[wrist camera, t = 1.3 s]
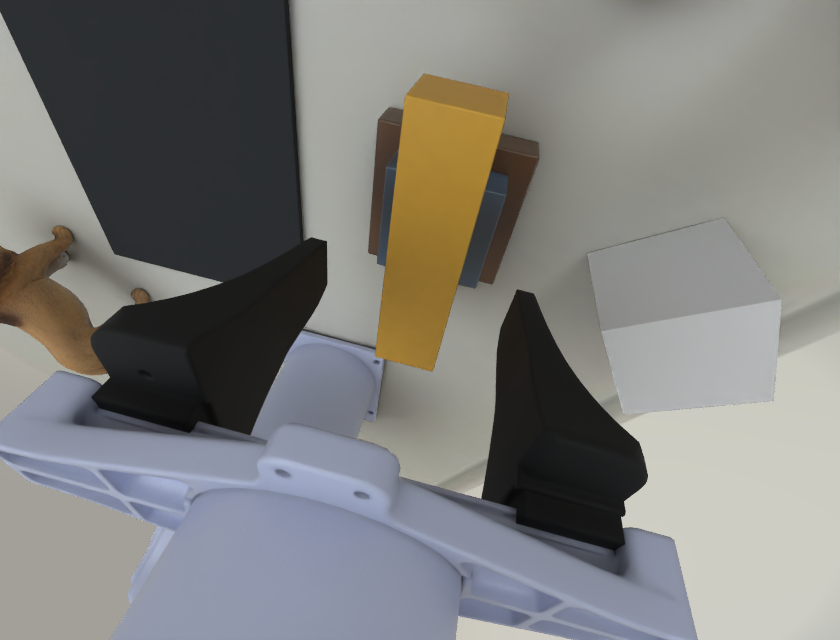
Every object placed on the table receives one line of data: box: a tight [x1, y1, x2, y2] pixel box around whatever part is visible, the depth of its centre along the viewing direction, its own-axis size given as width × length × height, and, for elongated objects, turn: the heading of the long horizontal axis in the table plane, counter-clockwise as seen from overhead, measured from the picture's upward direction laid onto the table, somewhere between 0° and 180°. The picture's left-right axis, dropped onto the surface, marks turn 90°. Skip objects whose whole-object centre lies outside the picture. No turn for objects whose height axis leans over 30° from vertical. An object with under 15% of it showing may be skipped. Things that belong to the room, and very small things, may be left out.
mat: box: [0, 0, 303, 282], centre depth 22 cm, size 18×14×1 cm
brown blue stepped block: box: [368, 108, 539, 288], centre depth 19 cm, size 7×7×4 cm
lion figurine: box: [0, 226, 149, 375], centre depth 27 cm, size 15×5×9 cm, turn 42°
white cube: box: [587, 218, 782, 415], centre depth 19 cm, size 6×6×6 cm
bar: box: [375, 74, 509, 371], centre depth 17 cm, size 12×3×3 cm, turn 171°
